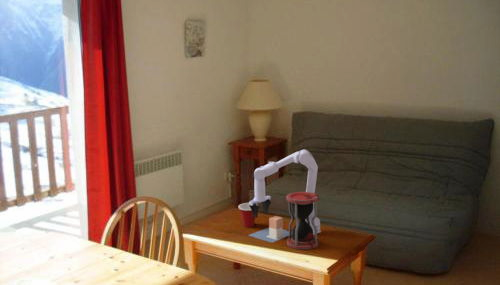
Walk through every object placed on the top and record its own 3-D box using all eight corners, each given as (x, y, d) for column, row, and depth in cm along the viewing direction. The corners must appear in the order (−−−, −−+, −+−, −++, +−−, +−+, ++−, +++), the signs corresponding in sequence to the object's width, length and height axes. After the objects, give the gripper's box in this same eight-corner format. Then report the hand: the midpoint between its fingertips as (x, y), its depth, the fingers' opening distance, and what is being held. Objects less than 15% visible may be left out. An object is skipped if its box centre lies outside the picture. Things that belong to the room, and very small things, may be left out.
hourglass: (310, 251, 270) (310, 201, 266) (281, 246, 278) (280, 197, 274) (324, 241, 283) (324, 193, 279) (295, 236, 292) (295, 190, 287)
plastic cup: (236, 228, 306) (236, 207, 304) (241, 222, 316) (241, 202, 314) (255, 230, 303) (255, 208, 301) (260, 223, 314) (259, 203, 312)
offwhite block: (282, 236, 292) (282, 226, 291) (276, 238, 288) (276, 229, 287) (275, 234, 295) (275, 225, 294) (269, 236, 292) (269, 227, 291)
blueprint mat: (295, 233, 296) (295, 232, 296) (271, 243, 283) (271, 242, 283) (271, 226, 308) (271, 226, 308) (247, 235, 294) (247, 235, 294)
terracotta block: (282, 226, 291) (282, 217, 290) (276, 229, 287) (276, 220, 286) (275, 225, 294) (275, 215, 293) (269, 227, 291) (269, 218, 290)
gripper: (263, 186, 303) (264, 210, 306) (244, 192, 293) (245, 217, 295) (273, 189, 298) (273, 213, 301) (254, 194, 288) (255, 219, 290)
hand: (260, 215), depth 298 cm, fingers open, 7 cm apart
